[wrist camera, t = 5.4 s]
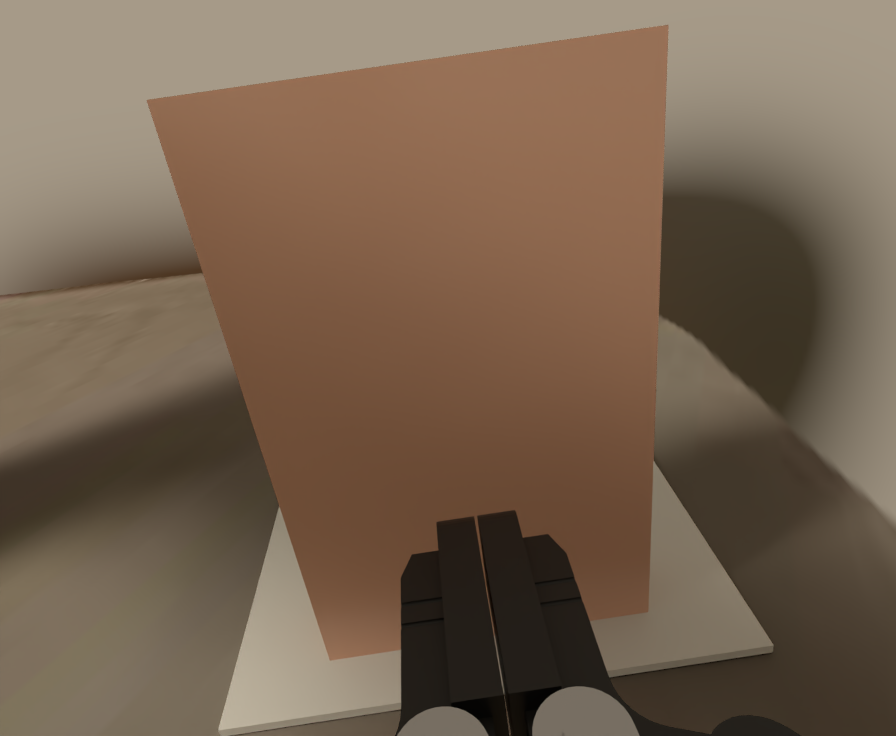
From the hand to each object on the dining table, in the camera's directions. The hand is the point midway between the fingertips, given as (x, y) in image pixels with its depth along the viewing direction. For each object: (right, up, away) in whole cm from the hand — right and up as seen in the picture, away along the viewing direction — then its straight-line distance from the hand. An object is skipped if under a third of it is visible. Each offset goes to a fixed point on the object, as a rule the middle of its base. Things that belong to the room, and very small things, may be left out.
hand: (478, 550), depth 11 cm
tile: (+1, -4, +8) cm, 9 cm away
